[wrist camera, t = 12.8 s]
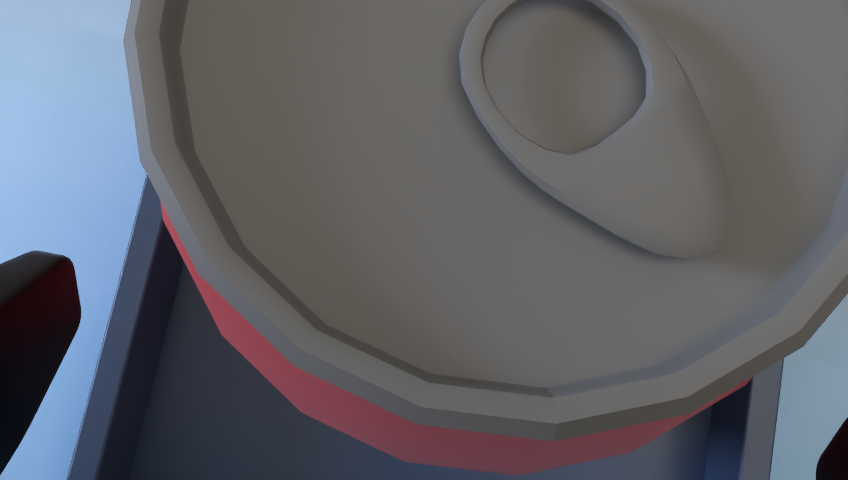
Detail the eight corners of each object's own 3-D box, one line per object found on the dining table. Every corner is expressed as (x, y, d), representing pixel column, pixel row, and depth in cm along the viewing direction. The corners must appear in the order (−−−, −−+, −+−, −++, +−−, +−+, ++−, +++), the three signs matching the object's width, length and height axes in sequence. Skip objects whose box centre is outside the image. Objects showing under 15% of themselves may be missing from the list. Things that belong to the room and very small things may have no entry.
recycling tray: (699, 668, 16) (743, 717, 14) (92, 541, 16) (41, 568, 14) (784, 4, 18) (832, -44, 16) (253, -92, 19) (231, -151, 17)
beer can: (431, 475, 16) (451, 772, 4) (249, 236, 17) (-146, -58, 5) (664, 285, 17) (1229, 96, 5) (478, 63, 18) (587, -543, 6)
